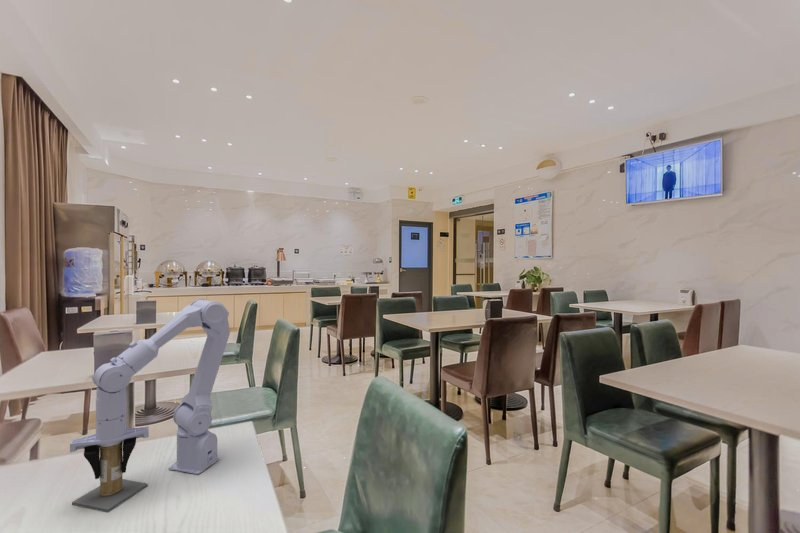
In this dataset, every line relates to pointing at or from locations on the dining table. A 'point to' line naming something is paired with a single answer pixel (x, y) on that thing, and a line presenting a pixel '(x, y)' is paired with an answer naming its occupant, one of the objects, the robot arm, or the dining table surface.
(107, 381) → the robot arm
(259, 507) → the dining table surface
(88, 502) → the coaster
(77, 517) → the dining table surface
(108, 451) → the sprinkles bottle
